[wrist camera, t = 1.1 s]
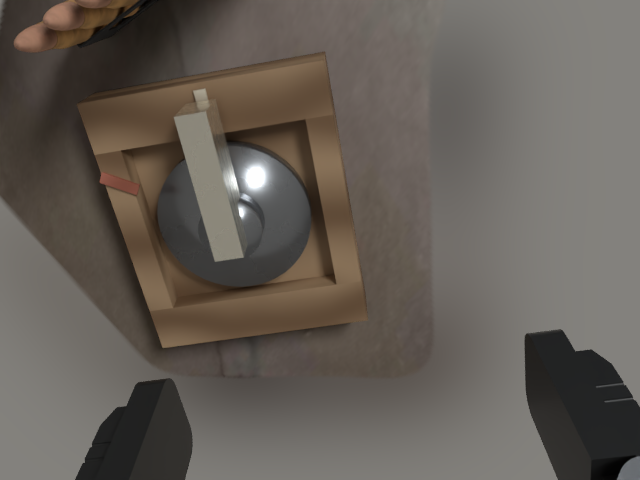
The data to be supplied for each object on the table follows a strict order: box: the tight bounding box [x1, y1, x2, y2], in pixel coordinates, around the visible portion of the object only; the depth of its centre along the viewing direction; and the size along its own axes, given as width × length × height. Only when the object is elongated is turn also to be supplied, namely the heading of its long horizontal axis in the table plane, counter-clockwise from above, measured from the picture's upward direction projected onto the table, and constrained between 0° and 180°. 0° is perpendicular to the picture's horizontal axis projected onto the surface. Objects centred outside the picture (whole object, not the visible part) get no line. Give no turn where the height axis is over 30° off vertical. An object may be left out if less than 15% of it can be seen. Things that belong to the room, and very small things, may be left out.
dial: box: [157, 99, 312, 287], centre depth 37 cm, size 13×10×5 cm
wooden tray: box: [77, 52, 368, 348], centre depth 40 cm, size 18×15×3 cm
